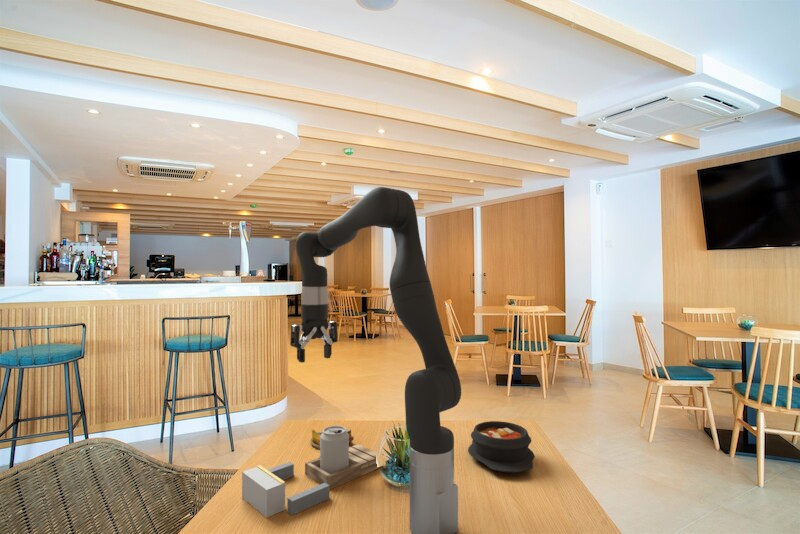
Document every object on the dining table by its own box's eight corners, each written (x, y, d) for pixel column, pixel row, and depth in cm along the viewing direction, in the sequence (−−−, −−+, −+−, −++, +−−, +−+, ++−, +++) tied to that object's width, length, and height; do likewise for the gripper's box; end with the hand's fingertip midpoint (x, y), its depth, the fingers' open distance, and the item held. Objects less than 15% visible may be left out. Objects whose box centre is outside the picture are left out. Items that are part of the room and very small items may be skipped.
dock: (329, 498, 102) (329, 471, 102) (273, 523, 91) (273, 494, 92) (289, 473, 114) (289, 449, 114) (236, 492, 104) (236, 466, 104)
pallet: (383, 466, 119) (383, 455, 119) (329, 489, 106) (329, 477, 106) (358, 454, 126) (358, 444, 126) (305, 474, 114) (305, 463, 114)
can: (343, 482, 109) (343, 435, 109) (315, 479, 111) (315, 433, 111) (352, 469, 117) (352, 425, 117) (326, 467, 118) (326, 423, 118)
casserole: (550, 478, 112) (549, 446, 112) (479, 480, 111) (479, 447, 111) (517, 441, 137) (517, 414, 137) (460, 442, 135) (460, 415, 136)
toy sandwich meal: (338, 432, 144) (338, 418, 144) (359, 445, 133) (359, 430, 133) (303, 441, 137) (303, 426, 137) (322, 456, 126) (323, 439, 126)
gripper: (300, 304, 114) (300, 365, 114) (343, 302, 124) (343, 358, 124) (285, 303, 119) (285, 361, 119) (327, 301, 130) (327, 355, 129)
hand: (314, 360), depth 122 cm, fingers open, 8 cm apart
